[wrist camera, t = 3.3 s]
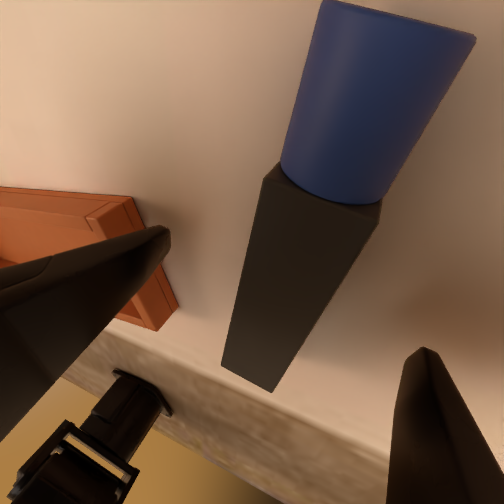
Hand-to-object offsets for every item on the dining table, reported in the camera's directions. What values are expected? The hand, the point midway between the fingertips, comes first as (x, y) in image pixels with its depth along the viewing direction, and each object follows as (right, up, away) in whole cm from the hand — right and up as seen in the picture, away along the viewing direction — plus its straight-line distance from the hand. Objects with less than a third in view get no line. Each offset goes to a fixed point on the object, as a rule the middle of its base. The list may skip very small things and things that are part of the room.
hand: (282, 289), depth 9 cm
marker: (+1, +1, +2) cm, 2 cm away
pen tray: (-15, +2, +10) cm, 18 cm away
